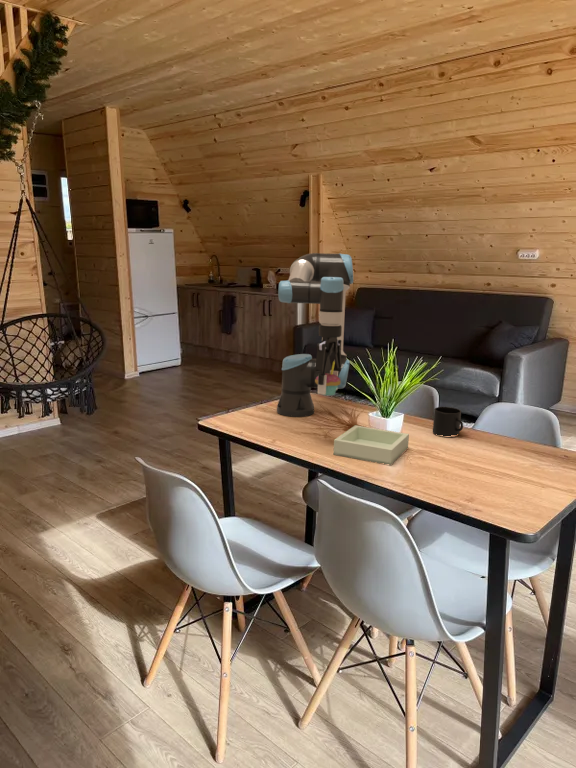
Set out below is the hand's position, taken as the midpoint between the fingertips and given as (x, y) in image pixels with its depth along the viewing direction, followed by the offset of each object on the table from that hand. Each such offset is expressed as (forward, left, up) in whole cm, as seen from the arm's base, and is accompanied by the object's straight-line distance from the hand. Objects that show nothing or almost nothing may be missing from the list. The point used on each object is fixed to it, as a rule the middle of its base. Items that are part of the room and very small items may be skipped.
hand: (327, 391), depth 204 cm
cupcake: (0, 0, -1) cm, 1 cm away
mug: (-32, +35, -18) cm, 51 cm away
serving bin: (0, +17, -18) cm, 25 cm away
